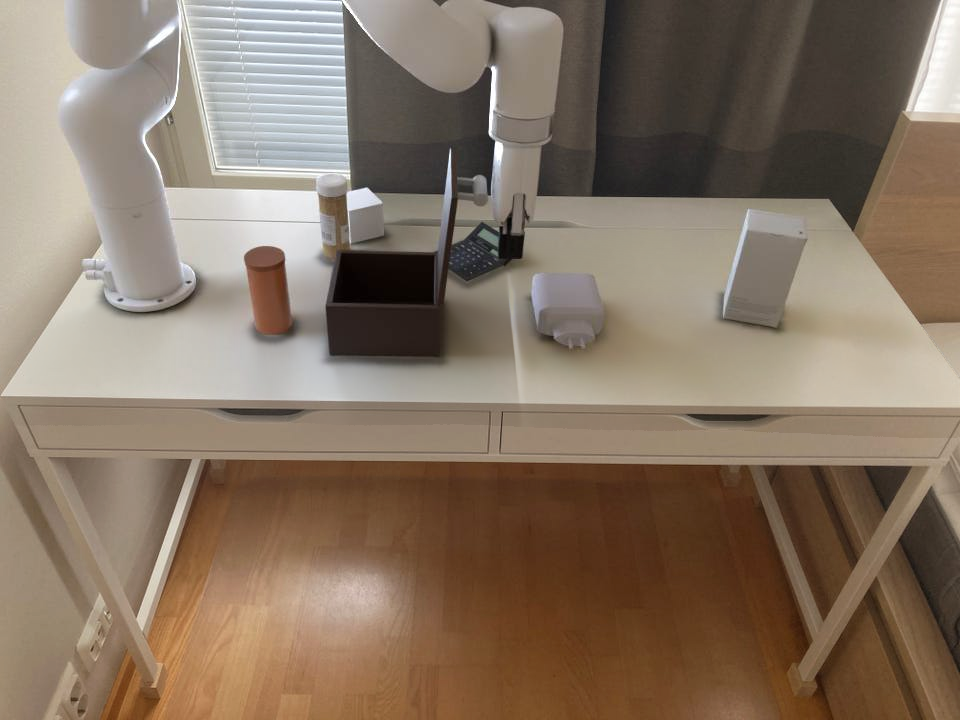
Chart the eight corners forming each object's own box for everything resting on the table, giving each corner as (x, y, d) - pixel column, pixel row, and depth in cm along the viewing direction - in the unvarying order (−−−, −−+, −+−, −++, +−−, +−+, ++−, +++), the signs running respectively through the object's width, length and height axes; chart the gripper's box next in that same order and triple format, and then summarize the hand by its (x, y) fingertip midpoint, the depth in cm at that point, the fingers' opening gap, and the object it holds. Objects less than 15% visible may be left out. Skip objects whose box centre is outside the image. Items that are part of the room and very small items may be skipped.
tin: (252, 339, 109) (240, 266, 102) (259, 316, 113) (247, 245, 106) (290, 340, 109) (281, 267, 102) (295, 317, 113) (287, 246, 106)
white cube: (335, 227, 133) (333, 194, 130) (368, 219, 136) (367, 187, 132) (350, 243, 130) (348, 210, 126) (384, 235, 132) (383, 202, 128)
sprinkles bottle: (356, 259, 126) (352, 181, 118) (329, 266, 124) (323, 188, 115) (343, 246, 129) (338, 169, 120) (317, 253, 127) (310, 175, 118)
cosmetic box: (777, 306, 122) (808, 216, 112) (777, 331, 117) (810, 239, 107) (721, 295, 123) (748, 205, 114) (719, 319, 119) (747, 227, 109)
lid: (451, 197, 92) (492, 201, 93) (450, 147, 102) (487, 151, 103) (437, 305, 102) (474, 308, 102) (437, 249, 112) (471, 252, 113)
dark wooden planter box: (329, 359, 107) (325, 306, 101) (339, 300, 117) (336, 249, 112) (439, 361, 108) (440, 308, 102) (439, 303, 118) (440, 252, 112)
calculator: (428, 258, 127) (428, 242, 125) (482, 236, 134) (483, 220, 132) (466, 285, 122) (467, 268, 120) (521, 260, 128) (522, 244, 126)
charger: (541, 361, 109) (530, 298, 120) (608, 362, 109) (590, 299, 121) (545, 334, 106) (533, 272, 117) (613, 335, 106) (595, 273, 118)
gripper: (486, 97, 99) (479, 226, 111) (492, 148, 88) (483, 287, 99) (546, 99, 100) (532, 228, 111) (560, 151, 88) (543, 288, 100)
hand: (509, 255), depth 105 cm, fingers closed
